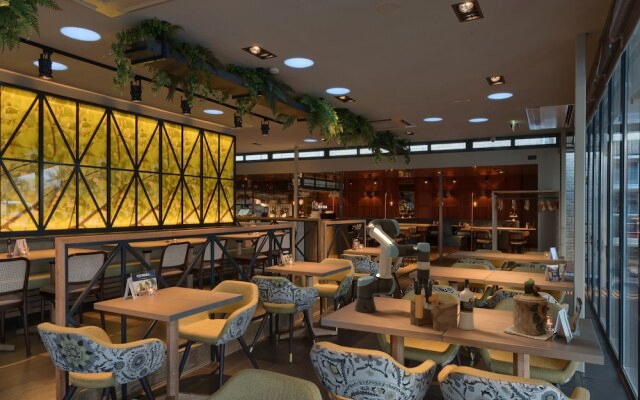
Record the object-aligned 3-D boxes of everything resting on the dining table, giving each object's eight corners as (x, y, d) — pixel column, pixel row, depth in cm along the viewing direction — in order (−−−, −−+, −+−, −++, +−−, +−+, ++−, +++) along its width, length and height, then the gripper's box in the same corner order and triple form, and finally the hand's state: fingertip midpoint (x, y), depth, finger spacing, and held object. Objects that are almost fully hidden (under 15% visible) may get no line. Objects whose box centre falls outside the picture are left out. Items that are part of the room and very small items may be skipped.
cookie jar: (501, 332, 272) (502, 278, 272) (516, 325, 290) (516, 274, 290) (546, 341, 255) (547, 283, 256) (559, 332, 274) (559, 279, 274)
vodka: (469, 326, 285) (469, 277, 286) (477, 330, 276) (478, 280, 277) (455, 326, 283) (456, 278, 284) (463, 331, 274) (464, 280, 275)
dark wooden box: (410, 324, 288) (410, 301, 288) (427, 319, 300) (427, 298, 301) (441, 331, 272) (441, 307, 272) (457, 326, 284) (457, 303, 284)
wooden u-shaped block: (415, 317, 276) (415, 295, 276) (433, 312, 289) (433, 291, 289) (420, 318, 273) (420, 296, 274) (438, 313, 286) (438, 292, 286)
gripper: (408, 267, 282) (407, 305, 282) (431, 270, 270) (431, 310, 270) (415, 266, 287) (415, 304, 287) (438, 269, 275) (438, 308, 275)
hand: (422, 307), depth 278 cm, fingers closed on wooden u-shaped block, 3 cm apart
